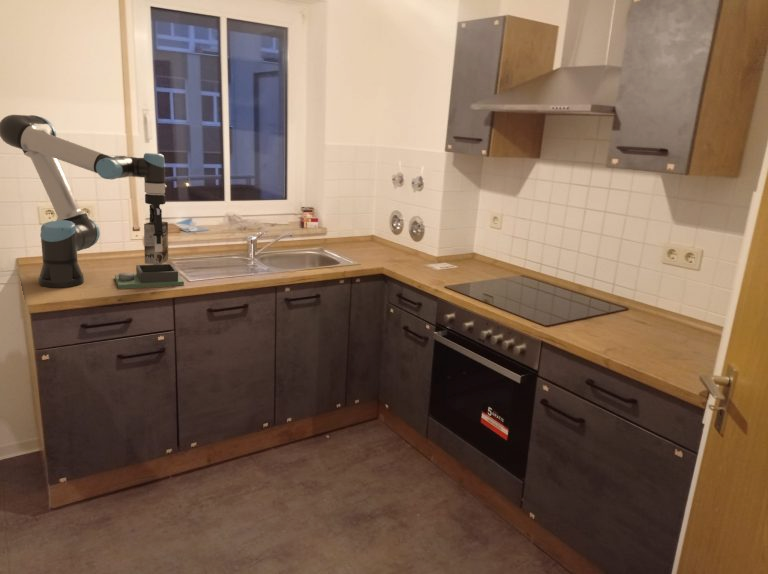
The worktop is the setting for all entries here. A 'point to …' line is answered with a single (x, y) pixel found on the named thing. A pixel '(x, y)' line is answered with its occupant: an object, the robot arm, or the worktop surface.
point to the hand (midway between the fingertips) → (156, 248)
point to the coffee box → (149, 244)
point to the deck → (150, 277)
